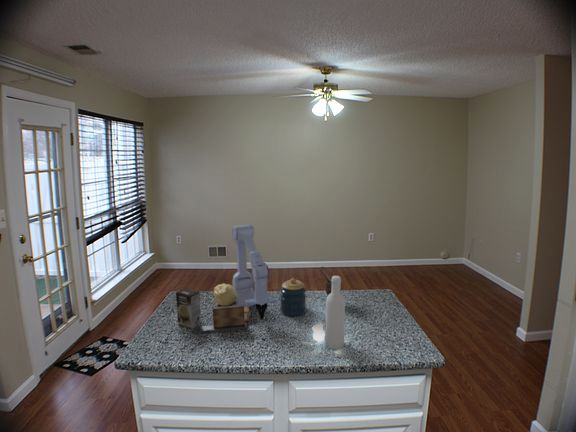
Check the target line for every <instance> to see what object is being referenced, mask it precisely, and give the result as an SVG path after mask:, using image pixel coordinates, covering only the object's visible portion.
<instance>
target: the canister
mask: <svg viewBox="0 0 576 432" xmlns="http://www.w3.org/2000/svg"><path fill="white" fill-rule="evenodd" d="M279 291H280V292H281V293H280V306H279V307H280V313H281V314H283V315H284V316H286V317H293V318H294V317H300V316H303V315H304V314H305V313H306V310H307V309H306V308H307V306H306V303H307V302H306V301H307V300H306V299H307V298H306V297H307V294H306V291H307V288H306V287H305V283H304V282H302V281H301V280H299V279H296V278H294V277H292V278H290V279H288V280H286V281H284V282H283V283H282V284H281V287H280V289H279Z"/></svg>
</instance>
